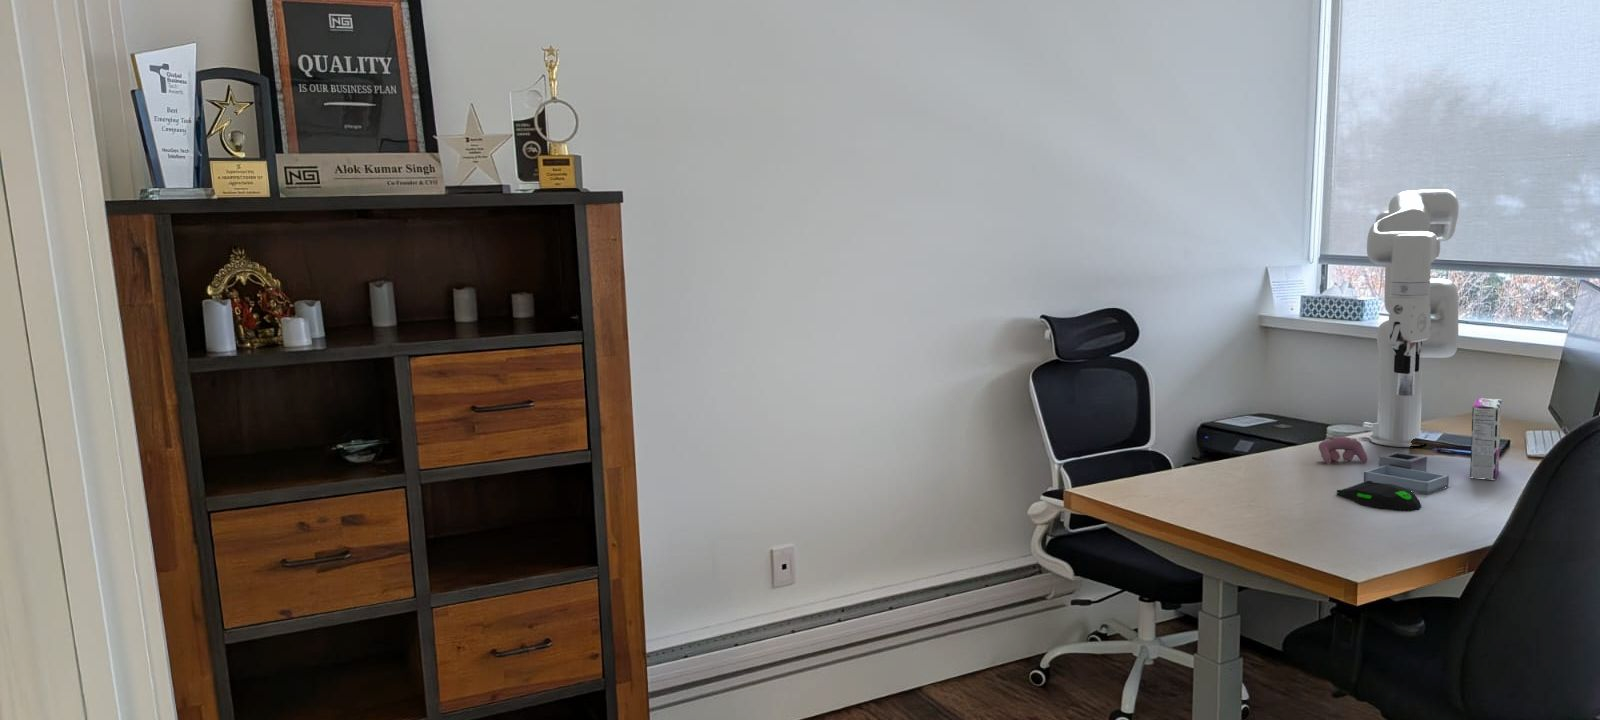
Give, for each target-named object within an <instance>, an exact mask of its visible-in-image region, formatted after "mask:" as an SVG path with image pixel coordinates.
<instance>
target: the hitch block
mask: <svg viewBox="0 0 1600 720" xmlns="http://www.w3.org/2000/svg"><path fill="white" fill-rule="evenodd" d="M1427 462H1428V457H1427V456H1424V455H1418V454H1412V453H1411V454H1410V453H1406V452H1405V453H1404V452H1398V451H1393V452H1390V453H1387V454H1386V453H1385V454H1382V455H1378V467H1381V466H1384V465H1388V466H1394V467H1400V468H1406V469H1412V470H1418V471H1424V472H1427V465H1428V463H1427Z"/></svg>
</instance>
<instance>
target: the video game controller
mask: <svg viewBox="0 0 1600 720" xmlns="http://www.w3.org/2000/svg"><path fill="white" fill-rule="evenodd" d="M1338 450H1344V451H1343V453H1342V458H1343V460H1344V461H1346V462H1350V461H1352V460H1353V459H1354V457H1355V456H1356V457H1357V458H1358V459H1359V460H1360V462H1361V463H1363V464H1367V463H1368V455H1367V453H1366V450H1365V448H1364V446H1363V444H1362V443H1361V442H1360V440H1358V439H1356V438H1353V437H1347V436H1333V437H1329V438H1325V439H1324V440H1321V441H1320V443H1318V451H1319V452H1320V456H1321V458H1322V460H1323V462H1324V464H1327V465H1329V464H1331V461H1332V462H1336V461H1338V460H1340V459H1341V454H1340V452H1339V451H1338Z"/></svg>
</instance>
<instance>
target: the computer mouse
mask: <svg viewBox="0 0 1600 720" xmlns="http://www.w3.org/2000/svg"><path fill="white" fill-rule="evenodd" d="M1336 496H1338V497H1341V498H1344V499H1345V500H1349V501H1351V502H1353V503H1355V504H1357V505H1359V506H1362V507H1365V508H1370V509H1375V510H1381V511H1382V510H1384V511H1393V512H1415V510H1417V511H1420V510H1421V509H1420V508H1422V504H1421V502H1420V500H1419V499H1418V496H1417V495H1416V493H1415V492H1411V491H1410V490H1408V489H1405V488H1403V487H1400V486H1396V485H1393V484H1382V483H1374V482H1372V481H1366V482H1364V483H1363V482H1361V483H1358V484H1356V485H1352V486H1349V487H1346V488H1342V489H1337V490H1336Z"/></svg>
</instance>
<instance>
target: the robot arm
mask: <svg viewBox="0 0 1600 720" xmlns="http://www.w3.org/2000/svg"><path fill="white" fill-rule="evenodd" d="M1459 207H1460V205H1459V200H1458V198H1457V196H1456V194H1455V193H1454V192H1453V191H1452V190H1449V189H1445V188H1443V189H1438V188H1437V189H1418V190H1416V189H1415V190H1414V189H1413V190H1405V191H1401V192H1399V193H1397V194H1395V195H1394V196H1393V197H1392V198H1391V200H1390V202H1389V204H1388V210H1386V211H1383V212H1380V213H1379V214H1378V215H1377V216H1376V219H1375V222H1374V223H1373V224H1372V225H1371V227H1370V228H1369V231H1368V234H1367V238H1366V239H1367V240H1366V254H1367V258H1368V260H1369V262H1370V263H1372V264H1374V265H1377V266H1384V268H1385V269H1384V307H1385V310H1386V312H1387V313H1388V314H1389V315H1388V320H1386V321H1383V322H1382V323H1381V324H1380V325H1378V328H1377V330H1376V342H1377V350H1378V362H1379V367H1378V368H1379V369H1378V370H1379V375H1378V377H1379V378H1378V398H1377V399H1378V400H1377V401H1378V403H1377V422H1374V423H1373V422H1369V421H1363V423H1362V431H1365V432H1366V431H1368V432H1371V433H1372V435H1370V436H1369V441H1370V442H1371V443H1373V444H1376V445H1381V446H1387V447H1388V446H1389V447H1393V448H1394V447H1395V448H1396V447H1397V448H1411V447H1410V446H1411V444H1412V443H1411V441H1412V440H1413V439H1415V438H1416V437H1419V436H1420V437H1421V425H1422V424H1421V423H1422V422H1421V420H1422V399H1423V378H1424V377H1423V374H1422V371H1421V370H1420V358H1431V359H1433V358H1435V359H1437V358H1438V359H1439V358H1440V359H1442V358H1443V359H1445V358H1446V359H1447V358H1451V357H1453V356H1454V355H1455V354H1456V352H1457V350H1458V346H1459V293H1458V287H1457V286H1456V284H1455V283H1454V281H1452V280H1450V279H1446V278H1431V269H1432V268H1431V267H1432V263H1434V261H1435V260H1436V259H1437V258H1438V257H1439V256H1440V252H1441V242H1446V241H1448V240H1450V239H1452V237H1453V236H1454V233H1455V231H1456V227H1457V222H1458V218H1459V217H1458V216H1459ZM1432 317H1433V318H1434V319H1432ZM1400 338H1402V339H1404V340H1406V342H1404V341H1399V340H1400ZM1418 341H1420V342H1418ZM1413 342H1417V343H1416V356H1415V379H1414V395H1413V396H1402V395H1398V394H1397V388H1398V373H1402V374H1409V373H1410V362H1411V356H1408V355H1409V349H1410V343H1413ZM1401 344H1405V348H1404V346H1403V345H1401Z"/></svg>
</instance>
